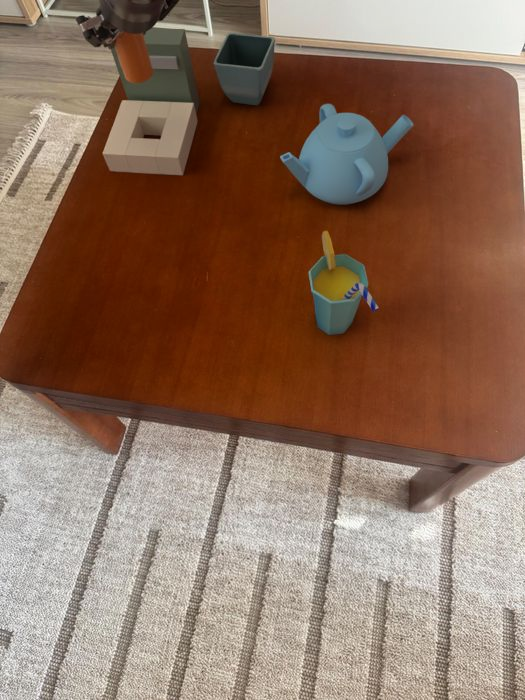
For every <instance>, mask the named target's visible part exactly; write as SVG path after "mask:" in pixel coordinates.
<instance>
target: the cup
mask: <svg viewBox="0 0 525 700" xmlns="http://www.w3.org/2000/svg"><path fill="white" fill-rule="evenodd" d="M321 241H322V248H323V249H322V250H323V254H324V255H323V256H321V257H320V258H319V260H318V261H317V262H316V263H315V264H314V265H313V266H312V267H311V268H310V270H309V271H308V277H309V283H310V291H311V295H312V297H313V304H314V312H315V319H316V325H317V328H318V329H319V330H321V331H323V332H324V333H326V334H327V335H329V336H333V335H342V334H344V333H345V332H346V331H347V330H348V329H349V328H350V326H351V325H352V324H353V321H354V319H355V316H356V313H357V312H358V308H359V305H360V303H361V300H362V297H363V299H364V300H365V301H366V304H367V305H368V306H369V308H370V309H371V311H372V312H376V311H377V310H379V309H380V307H379V306H378V304H377V303H376V300H375V299H374V297H373V296H372V295H371V293H370V292H369V290H368V287H369V279H368V276H367V271H366V267H365V266H366V265H364V264H363V263H361V262H360V261H358V260H356V259H354V257H351V256H349V255H348V254H346V253H342V254H335V251H334V246H333V242H332V238H331V236H330V233H329V231H328V230H324V231H322V232H321Z"/></svg>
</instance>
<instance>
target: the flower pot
mask: <svg viewBox="0 0 525 700" xmlns="http://www.w3.org/2000/svg"><path fill="white" fill-rule="evenodd" d="M275 43H276V38H275V37H273V36H268V35H257V34H247V33H237V32H228V33H227V34H226V35H225V37H224V39H223V41H222V44H221V46H220V47H219V50H218V52H217V54H216V56H215V58H214V60H213V67H214V71H215V73H216V77H217V79H218V84H219V86H220V88H221V90H222V92H223V94H224V95H225V96H226V97H227V99H229V100H230V101H231V102H233V103H235V104H242V105H251V106H259V105H260V103H261V102H262V100H263V96H264V95H265V92H266V89H267V87H268V85H269V82H270V81H271V80H270V79H271V76H272V74H273V68H274V60H275V48H276V47H275V46H276V44H275Z"/></svg>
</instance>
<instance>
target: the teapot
mask: <svg viewBox="0 0 525 700" xmlns="http://www.w3.org/2000/svg"><path fill="white" fill-rule="evenodd" d="M318 117H319V124H318V125H316V127H315V128H314V129H313V130H312V131H311V133H310V134H309V136H308V137H307V138H306V139H305V141H304V144H303V146H302V148H301V150H300V154H299V158H297V157H296V156H295V155H294V154H292V153H291V152H290V151H289V152H286V153H284V154H282V155H280V156H279V158H280V160H281V161H282V163H283V164H284V166H286V168H287V169H288V170H289V172H291V174H292V175H293V176H294V178H295V179H296V180H297V181H298V182H299V183H300V184H301V185H302V187H303V188H305V189H306V191H307V192H308V193H309V194H311V195H312V196H313V197H315V198H317V199H318V200H321V201H322V202H325V203H327V204H331V205H338V206H339V205H340V206H343V205H345V206H346V205H352V204H357V203H360V202H362V201H364V200H367V199H368V198H370V197H372V196H373V195H375V194H376V193H378V191H379V190H380V189H381V188H382V187H383V185H384V183H386V179H387V177H388V173H389V157H388V154H389V153H390V152H391V151H392V149H393V148H394V147H395V146H396V145H397V144H398V143H399V142H400V141H401V140H402V138H403V137H404V136H405V135H407V133H408V132H409V131H410V130H411V129H412V128H413V127H414V122H413V121H412V120H411V119H410V118H409V117H408V116H407V115H405V114H402V115H401V116H400V117H399V118H398V119H397V120H396V121H395V123H394V124H393V125H392V126H391V127H390V128H389V129H388V130H387V131H386V133H384V135H380V133H379V131H378V130H377V128H376V127H375V125H373V123H372V122H371V121H370V120H369V119H368V118H366V117H364V116H363V115H361V114H358V113H354V112H338V113H337V110H336V108H335V106H334V105H333V104H332V103H324V104H322V105H321V106H320V108H319V115H318Z"/></svg>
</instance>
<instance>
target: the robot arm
mask: <svg viewBox="0 0 525 700" xmlns="http://www.w3.org/2000/svg"><path fill="white" fill-rule="evenodd" d="M179 1H180V0H98V2H99V7H97V9H96V11H95V16H93V17H91V16H90V15H87V16H85V15H84V14H83V15H82V14H81V15H78V16H77V17H76V18H75V21H76V23H77V25H78V28H79V29H80V31H81V33H82V35H83V37H84V39H85V41H86V42H87V43H89V44H90V45H91V46H93V47H94V48H100V47H102V46H103V47H104V48H108V50H111V49H112V48H114V45H115V39H118V38H121V37H122V36H123V35H124V33H125V32H126V33H130V34H140V33H143V35H145V34H146V31H148V30H150V29H151V28H154V27H155V25H156V24H157V23H158V22H162V21H164V19H166V18H167V16H168V15H169V14H170V13H171V12H172V10H173V9H174V8H175V7H176V5H177V4H178V3H179Z"/></svg>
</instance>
